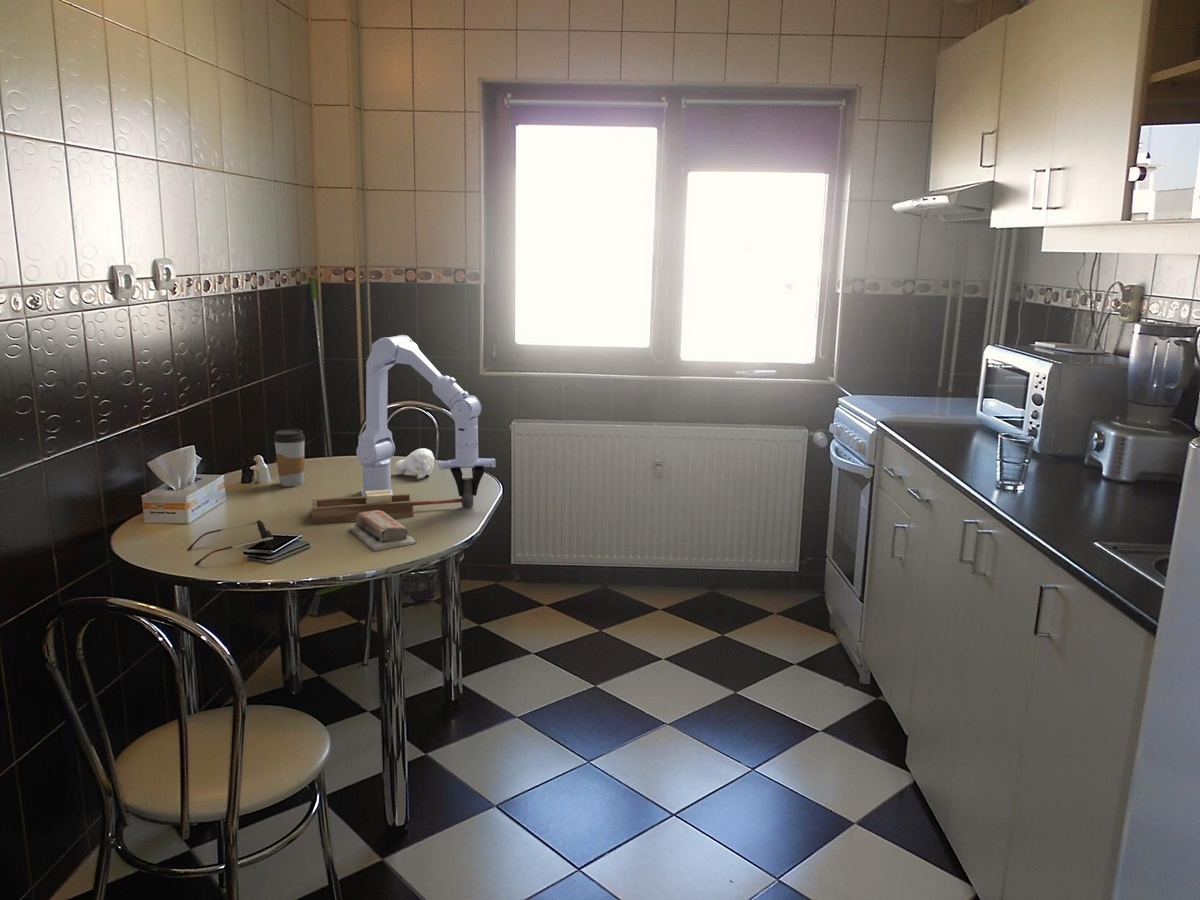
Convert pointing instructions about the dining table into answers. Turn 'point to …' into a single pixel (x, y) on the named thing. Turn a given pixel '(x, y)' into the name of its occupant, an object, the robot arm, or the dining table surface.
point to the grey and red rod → (386, 496)
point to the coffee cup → (290, 456)
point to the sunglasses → (264, 535)
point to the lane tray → (359, 508)
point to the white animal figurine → (417, 463)
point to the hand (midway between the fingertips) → (467, 495)
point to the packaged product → (380, 530)
